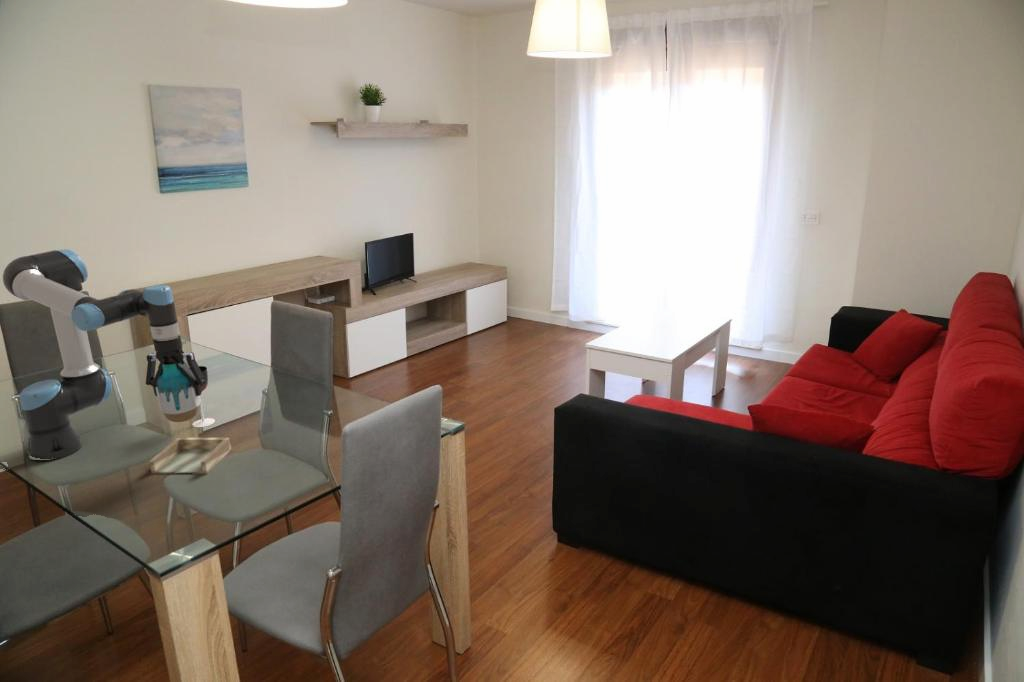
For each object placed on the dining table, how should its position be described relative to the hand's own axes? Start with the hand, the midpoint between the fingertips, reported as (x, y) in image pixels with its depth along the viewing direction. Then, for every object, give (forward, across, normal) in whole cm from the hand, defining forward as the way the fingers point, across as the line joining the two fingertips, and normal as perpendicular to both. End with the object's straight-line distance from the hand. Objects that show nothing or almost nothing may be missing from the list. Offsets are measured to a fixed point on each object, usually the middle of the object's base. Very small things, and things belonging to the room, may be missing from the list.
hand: (180, 405), depth 215 cm
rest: (+20, 0, 0) cm, 20 cm away
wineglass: (+20, -11, +29) cm, 37 cm away
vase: (+5, 0, 0) cm, 5 cm away
